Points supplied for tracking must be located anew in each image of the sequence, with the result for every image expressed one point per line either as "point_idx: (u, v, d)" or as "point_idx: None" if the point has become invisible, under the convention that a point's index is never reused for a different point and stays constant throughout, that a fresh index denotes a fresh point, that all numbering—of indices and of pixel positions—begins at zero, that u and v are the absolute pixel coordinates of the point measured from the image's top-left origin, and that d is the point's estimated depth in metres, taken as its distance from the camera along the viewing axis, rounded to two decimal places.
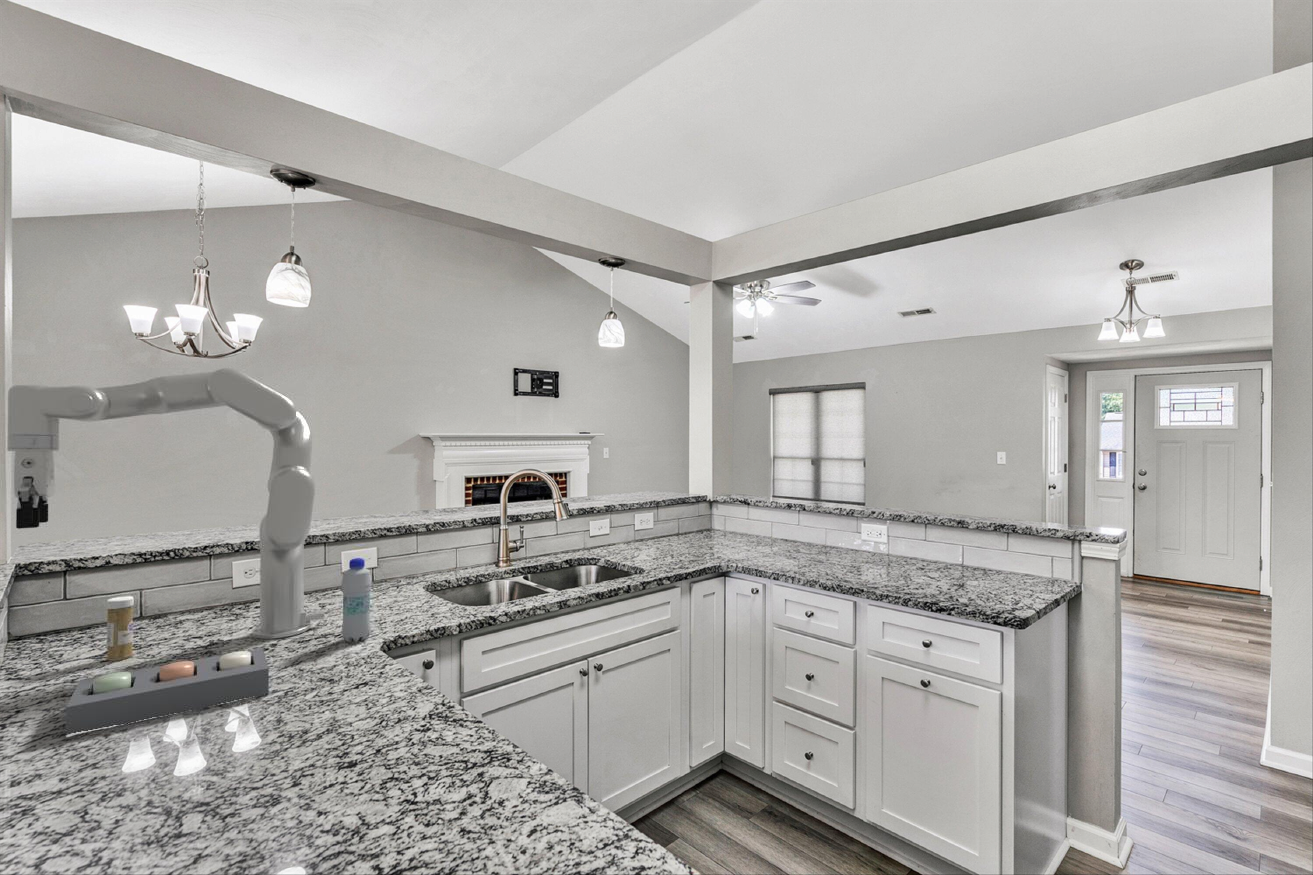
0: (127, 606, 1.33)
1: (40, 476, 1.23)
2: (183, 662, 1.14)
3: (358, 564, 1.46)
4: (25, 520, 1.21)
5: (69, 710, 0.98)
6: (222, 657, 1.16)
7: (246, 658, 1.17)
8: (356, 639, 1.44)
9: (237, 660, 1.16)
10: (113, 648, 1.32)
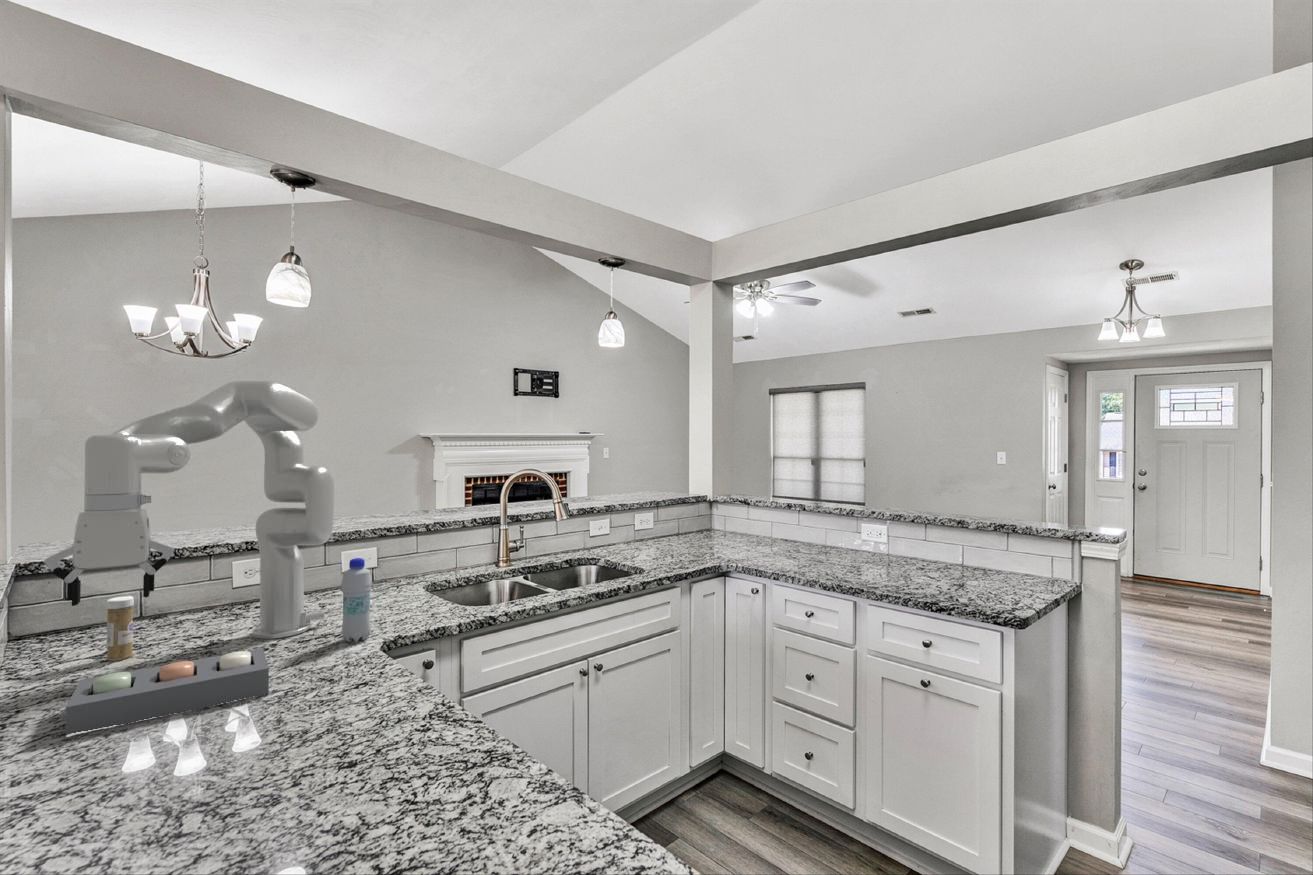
0: (127, 606, 1.33)
1: None
2: (183, 662, 1.14)
3: (358, 564, 1.46)
4: None
5: (69, 710, 0.98)
6: (222, 657, 1.16)
7: (246, 658, 1.17)
8: (356, 639, 1.44)
9: (237, 660, 1.16)
10: (113, 648, 1.32)
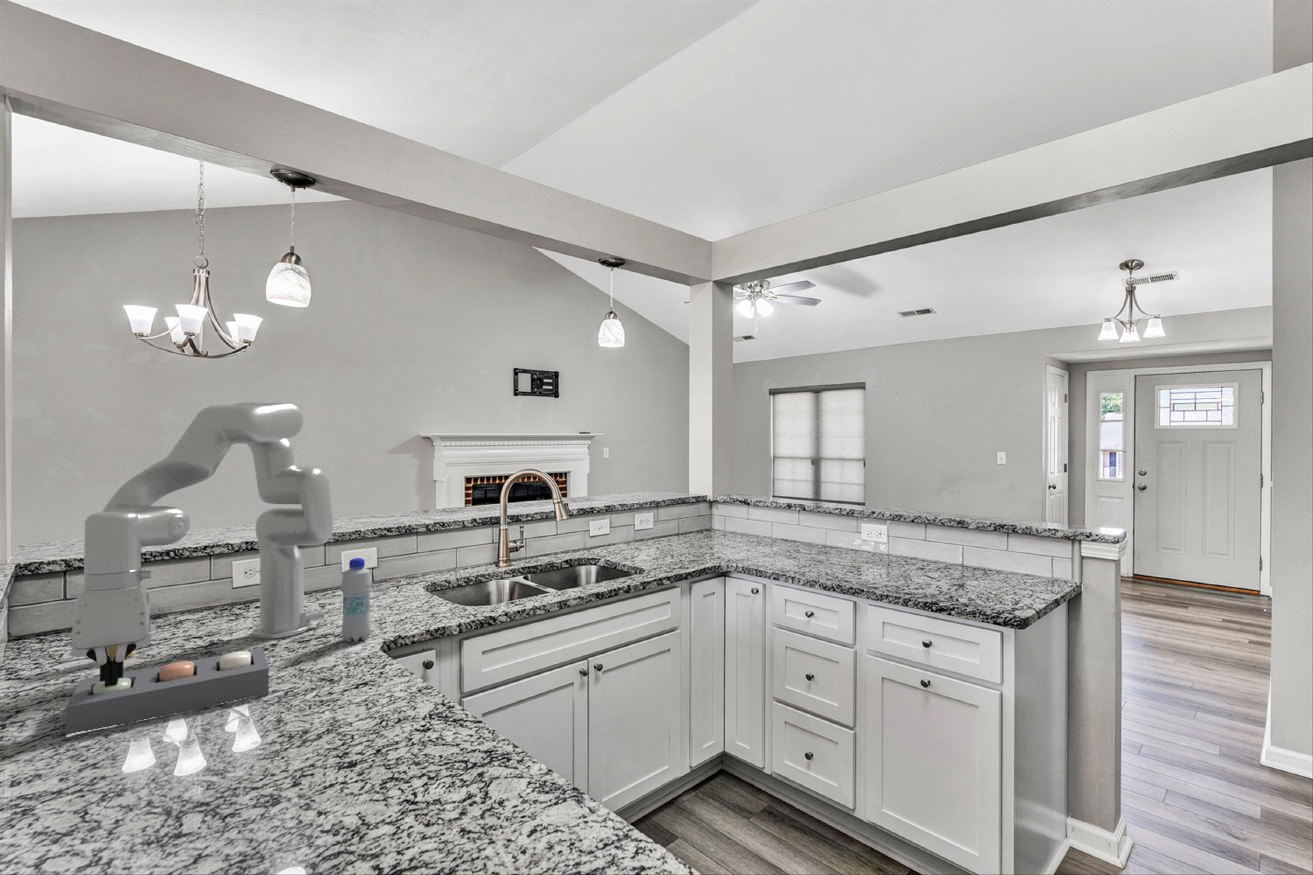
0: None
1: None
2: (183, 662, 1.14)
3: (358, 564, 1.46)
4: None
5: (69, 710, 0.98)
6: (222, 657, 1.16)
7: (246, 658, 1.17)
8: (356, 639, 1.44)
9: (237, 660, 1.16)
10: (113, 648, 1.32)
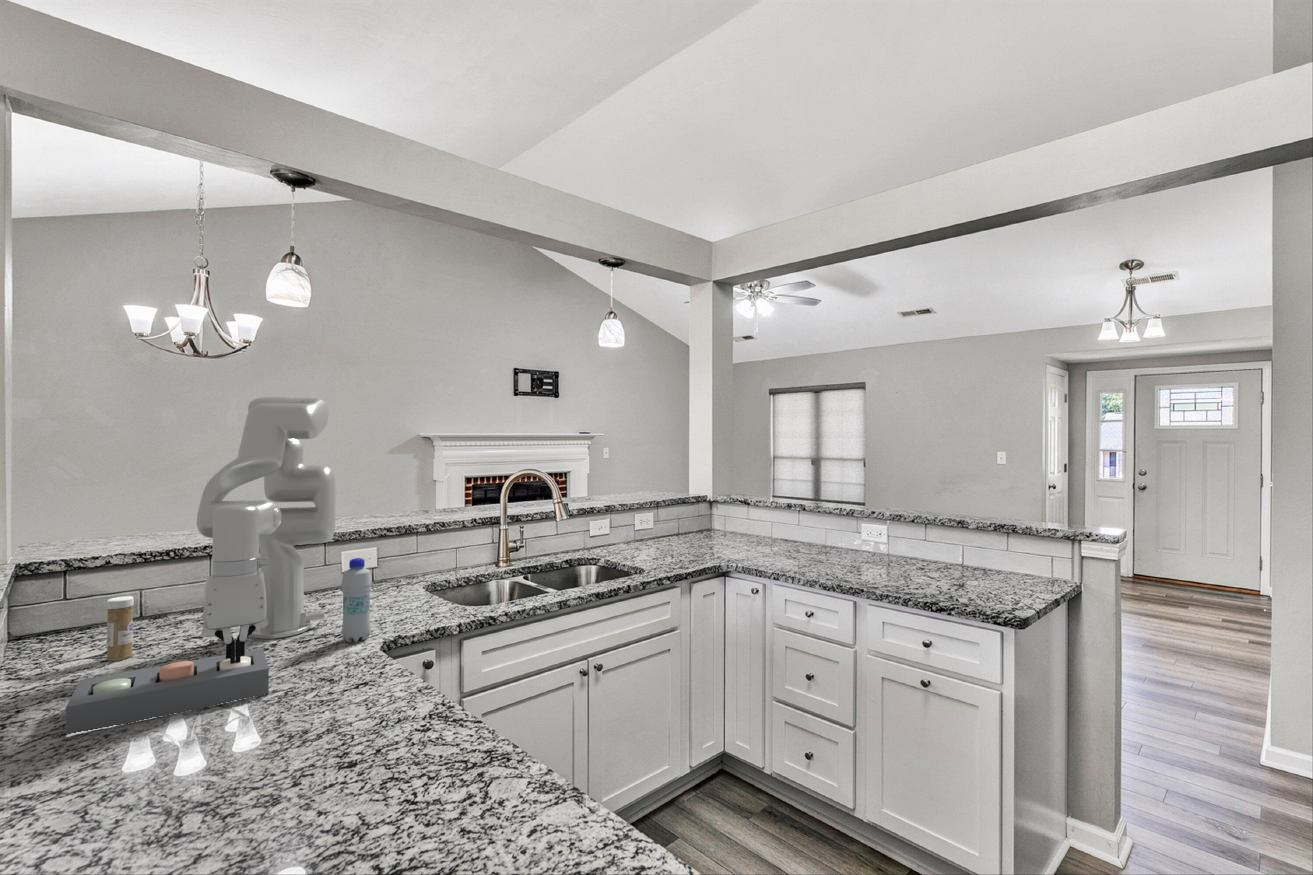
0: (127, 606, 1.33)
1: None
2: (183, 662, 1.14)
3: (358, 564, 1.46)
4: None
5: (69, 710, 0.98)
6: (222, 662, 1.16)
7: (246, 664, 1.17)
8: (356, 639, 1.44)
9: (237, 665, 1.16)
10: (113, 648, 1.32)
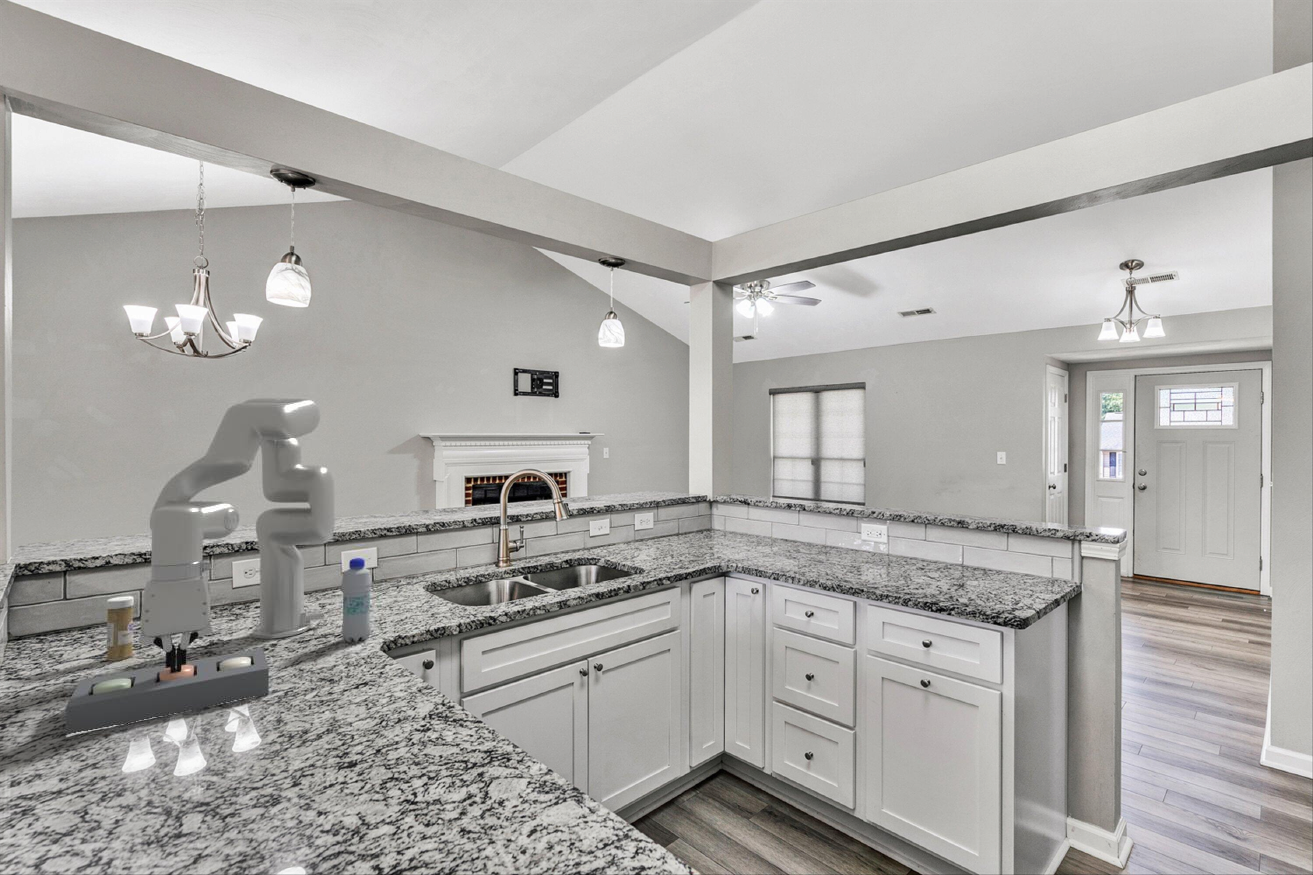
0: (127, 606, 1.33)
1: None
2: (183, 666, 1.14)
3: (358, 564, 1.46)
4: None
5: (69, 710, 0.98)
6: (222, 663, 1.16)
7: (246, 664, 1.17)
8: (356, 639, 1.44)
9: (237, 666, 1.16)
10: (113, 648, 1.32)
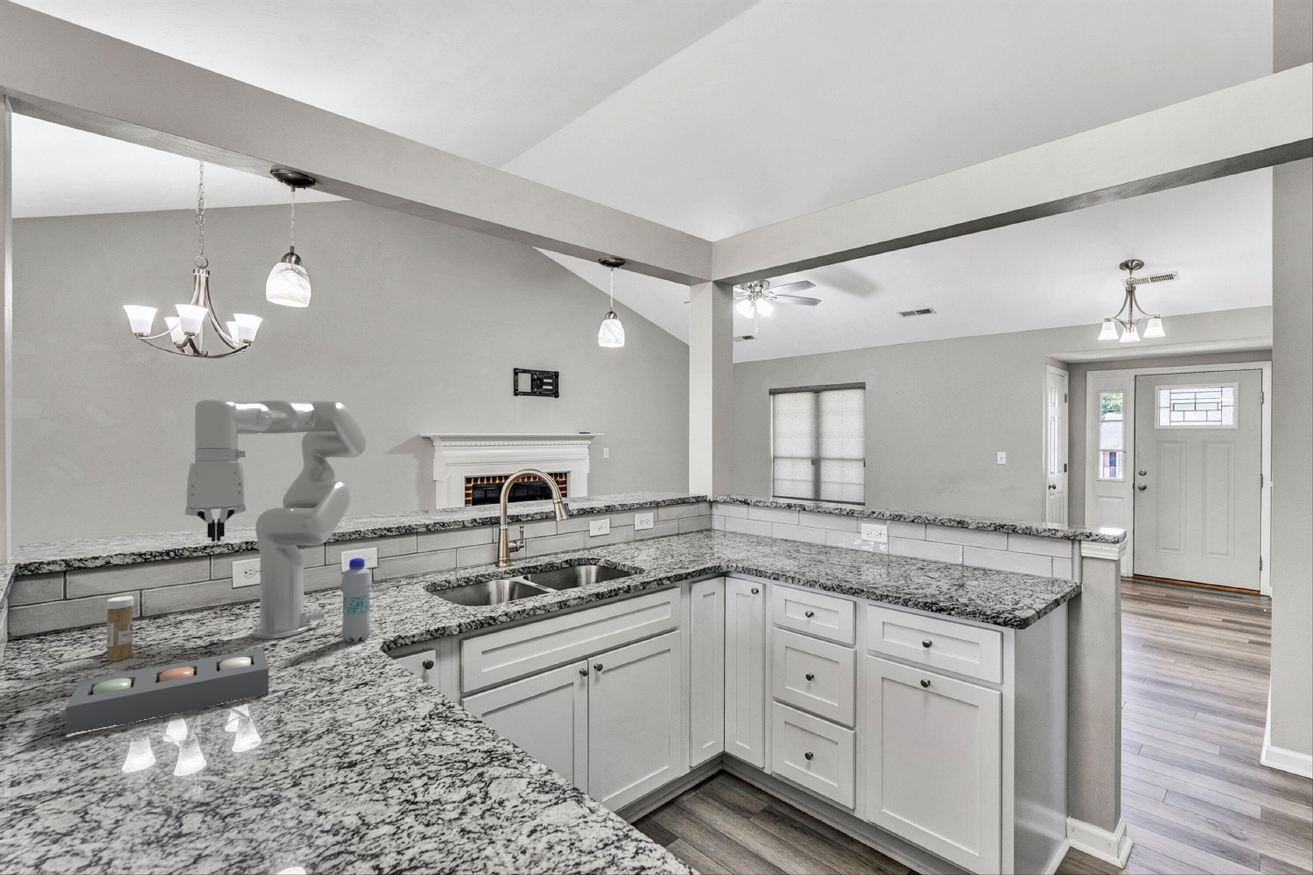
0: (127, 606, 1.33)
1: None
2: (183, 668, 1.14)
3: (358, 564, 1.46)
4: None
5: (69, 710, 0.98)
6: (222, 663, 1.16)
7: (246, 664, 1.17)
8: (356, 639, 1.44)
9: (237, 666, 1.16)
10: (113, 648, 1.32)
